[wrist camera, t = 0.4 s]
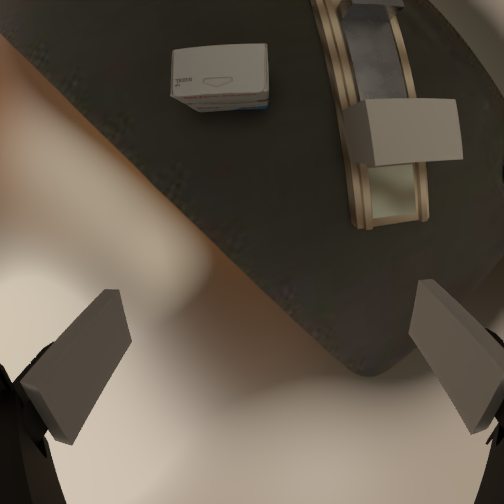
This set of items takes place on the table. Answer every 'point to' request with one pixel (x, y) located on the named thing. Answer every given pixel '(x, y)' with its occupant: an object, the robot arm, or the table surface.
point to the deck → (357, 174)
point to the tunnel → (402, 131)
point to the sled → (372, 47)
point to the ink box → (221, 77)
